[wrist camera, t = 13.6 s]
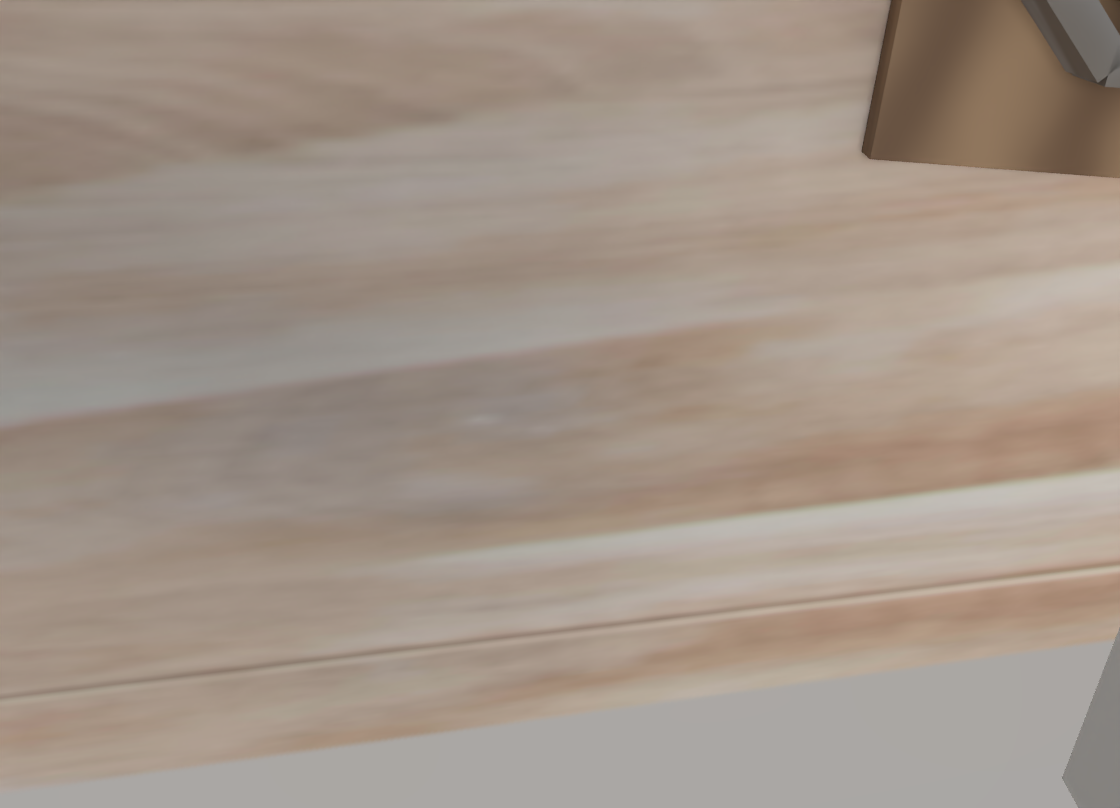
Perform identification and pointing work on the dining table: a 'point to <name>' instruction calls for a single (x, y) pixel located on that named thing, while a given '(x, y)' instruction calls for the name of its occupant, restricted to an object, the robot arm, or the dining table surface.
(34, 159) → the dining table surface
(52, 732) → the dining table surface
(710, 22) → the dining table surface
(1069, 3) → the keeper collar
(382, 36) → the dining table surface
